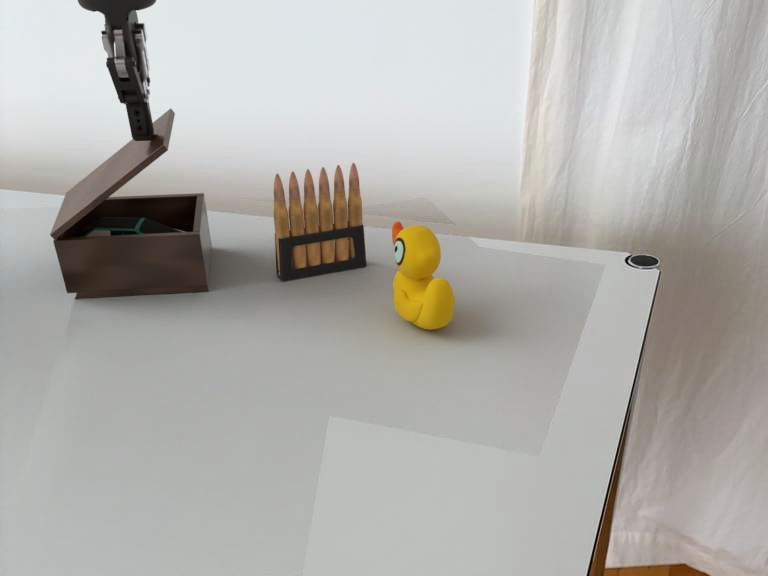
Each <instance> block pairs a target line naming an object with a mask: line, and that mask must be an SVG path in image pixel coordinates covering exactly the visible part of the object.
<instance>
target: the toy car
mask: <svg viewBox="0 0 768 576" xmlns="http://www.w3.org/2000/svg"><path fill="white" fill-rule="evenodd" d="M178 232H185V231H181V230H177V229H173V228H171V227H168V226H166V225H163V224H161V223H158V222H155V221H153V220H150V219H148V218H121V217H102V218H100V219H98V220H96V221H95V222H93V223H92V224H90V225H89V226H88V227H87V228H84V229H83V231H82V233H81V237H91V236H112V235H134V234H156V233H178Z"/></svg>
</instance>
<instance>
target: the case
mask: <svg viewBox="0 0 768 576" xmlns="http://www.w3.org/2000/svg"><path fill="white" fill-rule="evenodd" d="M102 217H121V218H148V219H150V220H153V221H155V222H158V223H161V224H163V225H166V226H168V227H171V228H173V229H177V230H181V231H185V232H178V233H156V234H134V235H112V236H91V237H81V233H82V231H83V229H84V228H87V227H88V226H89V225H90V224H92V223H93V222H95V221H96V220H98V219H100V218H102ZM211 238H212V237H211V232H210V224H209V217H208V211H207V205H206V199H205V193H204V192H197V193H177V194H176V193H174V194H152V195H151V194H149V195H128V196H127V195H125V196H110V197H108V198H107V199H106V200H104V201H103V202H102V203H101V204H99V205H98V206H97V207H96V208H94V209H93V210H92V211H91V212H89V213H88V214H87V215H85V216H84V217H83V218H82V219H80V220H79V221H78V222H77V223H75V224H74V225H73V226H72V227H70V228H69V229H68V230H67V231H65V232H64V233H63V234H61V235H60V236H59V237H58V238H56V239H55V240H54V239H53V246H54V249H55V253H56V256H57V261H58V264H59V268H60V273H61V275H62V279H63V283H64V286H65V290H66V293H67V294H75V297H74V299H89V298H90V299H91V298H110V297H111V298H112V297H126V296H127V297H128V296H129V297H130V296H146V295H167V294H169V295H170V294H183V293H184V294H185V293H205V292H209V288H210V276H211V265H212V252H213V250H212V249H213V245H212V239H211Z"/></svg>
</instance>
